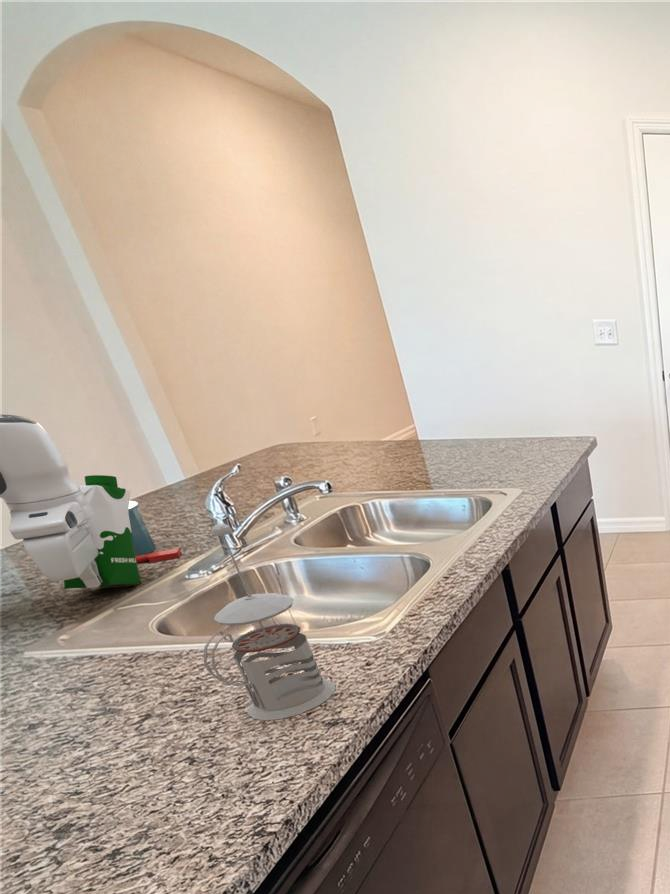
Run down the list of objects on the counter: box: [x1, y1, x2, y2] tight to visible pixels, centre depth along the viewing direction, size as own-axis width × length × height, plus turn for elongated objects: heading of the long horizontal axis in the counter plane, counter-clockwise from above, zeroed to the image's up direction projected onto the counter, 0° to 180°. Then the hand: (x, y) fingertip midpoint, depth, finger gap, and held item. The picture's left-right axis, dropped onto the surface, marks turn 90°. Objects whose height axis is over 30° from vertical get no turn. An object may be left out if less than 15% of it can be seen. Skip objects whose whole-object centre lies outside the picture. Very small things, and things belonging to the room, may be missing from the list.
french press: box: [202, 523, 336, 722], centre depth 82 cm, size 10×12×25 cm
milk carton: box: [63, 474, 142, 590], centre depth 119 cm, size 9×9×20 cm
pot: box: [128, 508, 156, 556], centre depth 136 cm, size 13×18×10 cm
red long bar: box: [135, 547, 182, 564], centre depth 133 cm, size 16×3×1 cm, turn 125°
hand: (95, 586), depth 116 cm, fingers closed
